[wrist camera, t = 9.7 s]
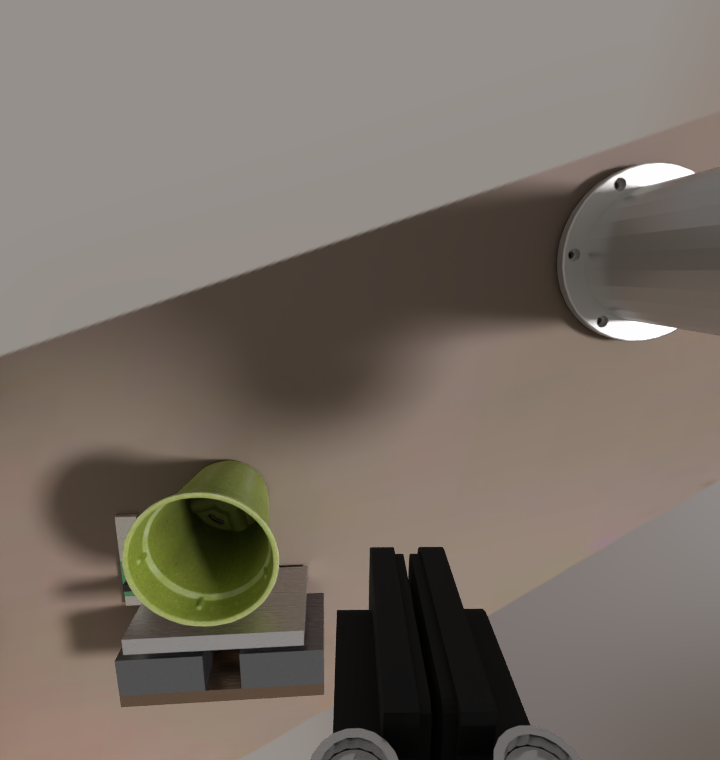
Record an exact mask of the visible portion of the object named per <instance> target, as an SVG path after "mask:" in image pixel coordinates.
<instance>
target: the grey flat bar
mask: <svg viewBox="0 0 720 760" xmlns="http://www.w3.org/2000/svg"><path fill="white" fill-rule="evenodd" d="M307 581H308V573H307V566H304V567H280V568H279V570H278V575H277V579H276V582H275V585H274V587H273V589H272V590H271V592H270V594H269V595H268V597H267V598H266V600H265V601H264V602H263V603H262V604H261V605H260V606H259V607H258V608H256V609H255V610H254V611H253V612H251V613H250V614H248V615H247V616H245V617H243V618H241V619H239V620H236V621H233V622H231V623H227V624H222V625H217V626H204V627H203V626H189V625H183V624H179V623H176V622H173V621H170V620H168V619H166V618H164V617H162V616H159V615H158V614H156V613H154V612H153V611H151V610H150V609H149V608H147V607H146V606H145V605H144V604H143V603H141V605H140V607H139V609H138V610H137V612H136V614H135V616H134V618H133V619H132V621H131V623H130V625H129V627H128V629H127V630H126V632H125V634H124V636H123V638H122V640H121V641H122V649H123V655H132V654H151V653H170V652H188V651H207V650H226V649H245V648H263V647H282V646H301V645H304V637H305V618H306V600H307ZM123 590H124V592H129V591H132V590H131V588H130V587H129V585H128V583H127V581H125V583H124V584H123Z"/></svg>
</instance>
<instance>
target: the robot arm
mask: <svg viewBox="0 0 720 760" xmlns="http://www.w3.org/2000/svg"><path fill="white" fill-rule="evenodd" d="M614 184H615V188H614ZM569 252H570V254H571V256H570V258H569V257H568V254H569ZM557 276H558V281H559V285H560V290H561V293H562V295H563V297H564V300H565V302H566V304H567V306H568V308H569V309H570V310H571V312H572V313H573V315H574V316H575V317H576V318H577V319H578V320H579V321H580V322H581V323H582V324H583V325H584V326H586V327H587V328H589V329H590V330H592V331H594V332H596V333H597V334H599V335H602V336H606V337H609V338H612V339H617V340H622V341H645V340H650V339H655V338H658V337H661V336H663V335H666V334H668V333H671V332H673V331H674V330H676V329H683V330H689V331H695V332H701V333H707V334H713V335H720V167H717V168H713V169H710V170H706V171H702V172H698V173H695V172H694V171H692V170H691V169H688V168H686V167H683V166H680V165H678V164H673V163H666V162H650V163H642V164H639V165H635V166H632V167H628V168H626V169H623V170H621V171H618V172H616V173H613V174H611V175H610V176H608V177H607V178H605V179H603V180H602V181H600V182H599V183H597V184H596V185H595V186H594V187H593V188H592V189H591V190H590V191H589V192H588V193H586V194H585V195H584V197H583V198H582V199H581V200H580V202H579V203H578V204H577V206H576V207H575V208H574V210H573V211H572V213H571V215H570V217H569V219H568V221H567V223H566V225H565V227H564V230H563V233H562V236H561V239H560V242H559V249H558V256H557ZM597 319H598V322H597ZM333 723H334V724H333V734H332V735H330V736H329V737H328V738H326V739H325V740H324V741H322V742H321V744H320V745H319V746H318V748H317V749H316V750H315V752H314V753H313V755H312V757H311V760H583V759H582V758H581V757H580V755H579V754H578V753H577V752H576V750H575V749H574V748H573V747H572V746H570V745H569V744H568V743H567V742H566V741H564V740H563V739H562V738H561V737H559V736H557V735H556V734H554V733H552V732H550V731H548V730H547V729H543V728H539V727H536V726H531V725H530V723H529V721H528V718H527V716H526V713H525V711H524V708H523V706H522V703H521V700H520V698H519V695H518V693H517V690H516V688H515V685H514V682H513V680H512V677H511V675H510V672H509V670H508V667H507V665H506V662H505V659H504V657H503V654H502V652H501V650H500V647H499V644H498V642H497V639H496V636H495V634H494V632H493V629H492V626H491V624H490V621H489V619H488V616H487V614H486V612H485V611H484V610H483V609H464V608H463V605H462V602H461V599H460V596H459V593H458V590H457V587H456V584H455V581H454V578H453V575H452V572H451V569H450V566H449V563H448V560H447V557H446V554H445V551H444V549H443V547H419V548H418V554H410V556H409V576H407V571H406V566H405V560H404V555H403V554H395V551H394V548H393V547H373V548H370V571H369V610H337V627H336V658H335V690H334V721H333Z"/></svg>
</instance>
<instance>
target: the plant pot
mask: <svg viewBox="0 0 720 760" xmlns="http://www.w3.org/2000/svg"><path fill="white" fill-rule="evenodd" d="M209 514H211V515H213V516H215V517H217V518H219V519H222V520H224V521H225V523H218V522H215V521H213V520H212V519H211V518H210V517H209ZM122 567H123V571H124V575H125V578H126V581H127V583H128V585H129V587H130V588H131V590H132V592H133V593H134V594H135V596H136V597H137V598H138V599H139V600H140V601H141V602H142V603H143V604H144V605H145V606H146V607H147V608H149V609H150V610H151V611H153V612H154V613H156V614H158V615H159V616H162V617H164V618H166V619H168V620H170V621H173V622H176V623H179V624H183V625H189V626H203V627H204V626H217V625H222V624H227V623H231V622H233V621H236V620H239V619H241V618H243V617H245V616H247V615H248V614H250V613H251V612H253V611H254V610H255V609H256V608H258V607H259V606H260V605H261V604H262V603H263V602H264V601H265V600H266V598H267V597H268V595H269V594H270V592H271V590H272V589H273V587H274V585H275V582H276V579H277V575H278V570H279V551H278V546H277V542H276V539H275V537H274V534H273V532H272V530H271V529H270V527H269V495H268V490H267V487H266V484H265V482H264V480H263V478H262V477H261V475H260V474H259V473H258V472H257V471H256V470H255V469H253V468H252V467H250V466H249V465H247V464H244V463H242V462H238V461H231V460H226V461H222V462H217V463H214V464H211V465H208V466H206V467H205V468H203V469H202V470H201V471H200V472H199V473H198V474H196V475H195V476H194V477H193V478H192V479H191V480H190V481H189V482H188V483H187V484H186V485H185V486H184V487H183V488H182V489H181V490H180V491H179V492H177V493H176V494H174V495H171V496H168V497H166V498H163V499H161V500H159V501H157V502H155V503H154V504H152V505H151V506H149V507H148V508H147V509H146V510H145V511H143V512H142V513H141V514H140V515H139V516H138V518H137V519H136V520H135V521H134V523H133V524H132V525H131V527H130V529H129V531H128V533H127V535H126V537H125V540H124V544H123V549H122Z"/></svg>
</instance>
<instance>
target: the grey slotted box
mask: <svg viewBox="0 0 720 760" xmlns="http://www.w3.org/2000/svg"><path fill="white" fill-rule="evenodd" d="M137 518H138V514H120V515H116V516H115V524H116V532H117V540H118V548H119V555H120V565H121V573H122V580H123V584H124V583H125V581H126V578H125V575H124V571H123V567H122V549H123V544H124V540H125V537H126V535H127V533H128V531H129V529H130V527H131V525H132V524H133V523H134V521H135V520H136V519H137ZM124 596H125V602H126V606H129V605H141V603H142V602H141V601H140V600H139V599H138V598H137V597H136V596H135V594H134V593H133V592H132V591H129V592H124ZM115 667H116V674H117V681H118V688H119V695H120V702H121V707H131V706H147V705H163V704H180V703H196V702H212V701H228V700H245V699H261V698H277V697H294V696H310V695H324V595H323V593H321V594H307V600H306V618H305V637H304V645H301V646H282V647H263V648H245V649H226V650H207V651H188V652H170V653H151V654H132V655H123V649H122V648H121V650H120V652H119V654H118V656H117V658H116V660H115Z"/></svg>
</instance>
